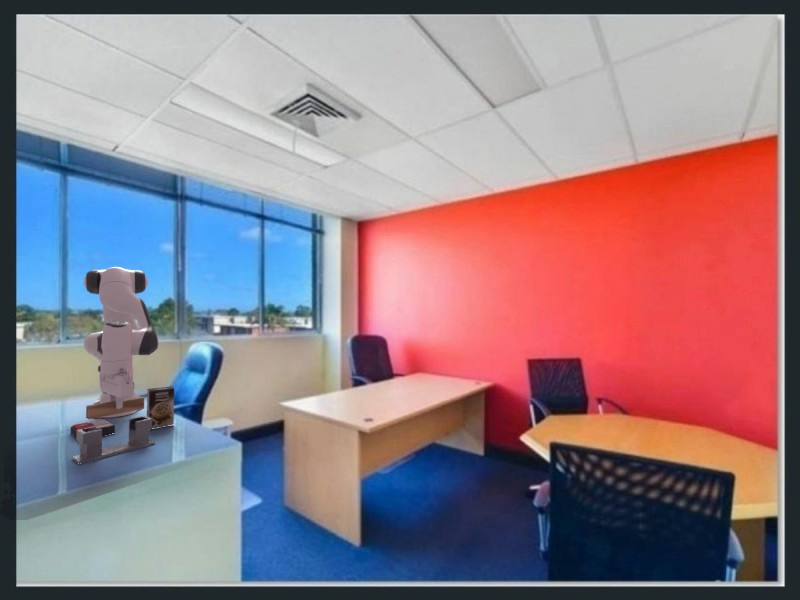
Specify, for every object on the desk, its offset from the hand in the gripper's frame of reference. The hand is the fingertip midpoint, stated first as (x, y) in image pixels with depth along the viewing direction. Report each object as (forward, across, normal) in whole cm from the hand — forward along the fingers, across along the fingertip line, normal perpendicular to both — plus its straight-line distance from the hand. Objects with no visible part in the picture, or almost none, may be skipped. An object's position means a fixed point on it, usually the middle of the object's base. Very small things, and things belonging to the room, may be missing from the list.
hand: (116, 407), depth 131 cm
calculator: (+16, +30, -2) cm, 34 cm away
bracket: (+15, 0, 0) cm, 15 cm away
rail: (+2, 0, 0) cm, 2 cm away
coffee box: (+15, +17, -21) cm, 31 cm away
